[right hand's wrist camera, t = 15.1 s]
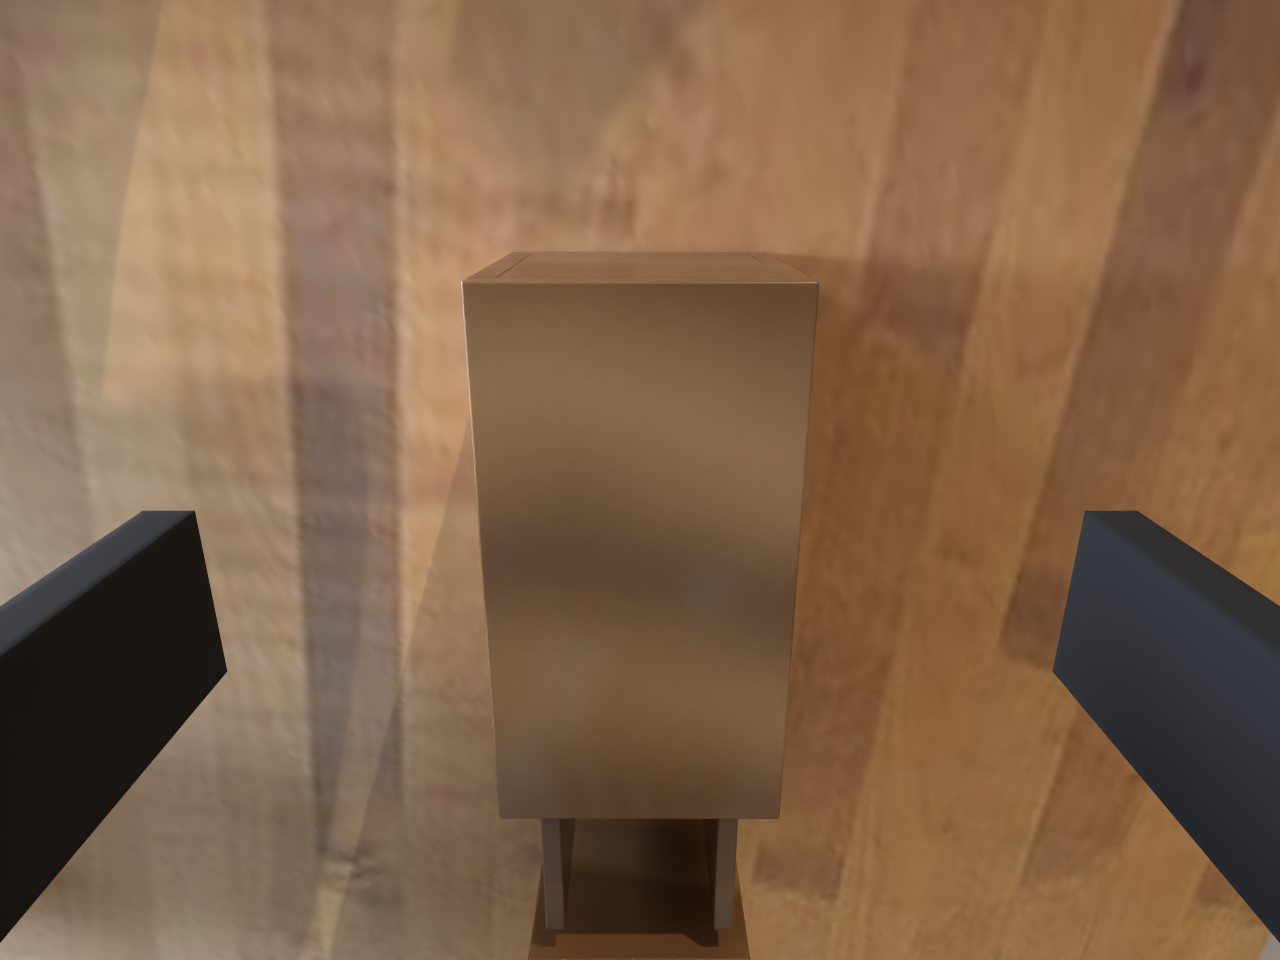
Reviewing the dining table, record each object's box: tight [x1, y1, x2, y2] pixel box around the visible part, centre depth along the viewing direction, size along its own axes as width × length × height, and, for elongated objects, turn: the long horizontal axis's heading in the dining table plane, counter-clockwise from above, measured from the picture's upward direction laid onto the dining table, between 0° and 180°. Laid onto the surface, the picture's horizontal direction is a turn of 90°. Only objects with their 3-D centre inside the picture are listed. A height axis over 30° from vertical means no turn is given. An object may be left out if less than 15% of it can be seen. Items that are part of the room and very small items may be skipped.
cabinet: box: [461, 252, 819, 819], centre depth 33 cm, size 20×11×10 cm, turn 0°
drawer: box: [528, 818, 750, 960], centre depth 38 cm, size 25×10×9 cm, turn 0°
